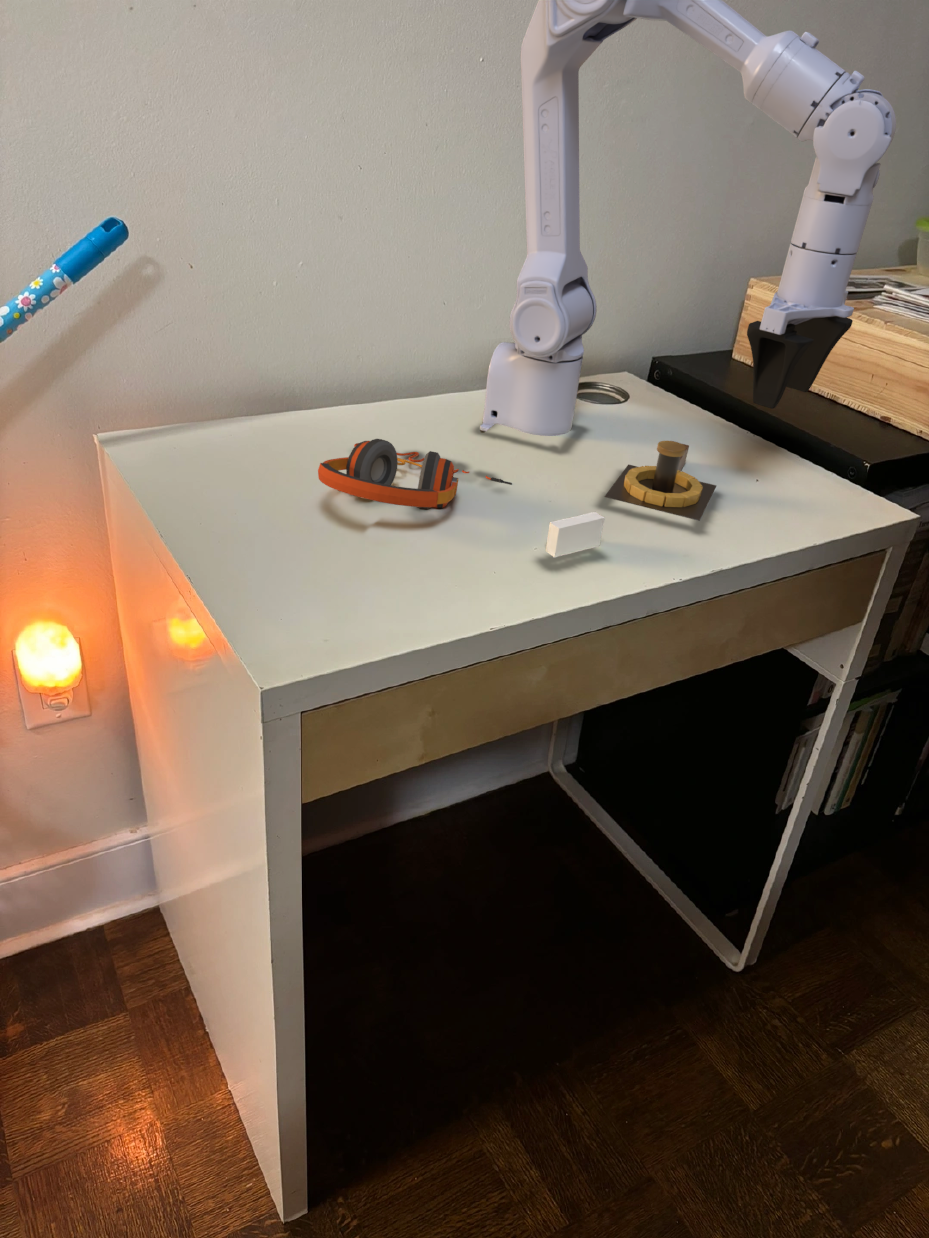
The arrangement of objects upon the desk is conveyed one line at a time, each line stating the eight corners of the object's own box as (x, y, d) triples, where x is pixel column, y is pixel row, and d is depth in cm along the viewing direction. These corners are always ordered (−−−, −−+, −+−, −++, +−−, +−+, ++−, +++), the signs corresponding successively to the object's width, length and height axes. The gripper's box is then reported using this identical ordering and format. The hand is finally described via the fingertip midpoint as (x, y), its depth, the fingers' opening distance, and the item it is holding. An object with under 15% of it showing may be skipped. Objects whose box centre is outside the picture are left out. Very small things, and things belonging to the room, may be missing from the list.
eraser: (543, 561, 77) (549, 521, 75) (588, 549, 79) (595, 511, 77) (552, 568, 76) (559, 528, 74) (597, 556, 78) (605, 517, 76)
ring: (691, 514, 85) (696, 494, 84) (616, 495, 87) (619, 475, 86) (714, 470, 94) (718, 452, 93) (645, 454, 96) (649, 436, 95)
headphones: (364, 466, 95) (265, 497, 77) (371, 415, 94) (271, 434, 76) (517, 504, 91) (451, 546, 73) (528, 451, 90) (463, 481, 71)
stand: (602, 506, 87) (612, 450, 84) (626, 473, 94) (636, 420, 91) (697, 530, 84) (711, 473, 81) (714, 494, 91) (727, 441, 88)
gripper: (836, 266, 74) (789, 426, 82) (895, 249, 84) (849, 393, 92) (756, 248, 78) (717, 403, 85) (821, 234, 88) (782, 374, 95)
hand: (781, 397), depth 89 cm, fingers open, 7 cm apart
